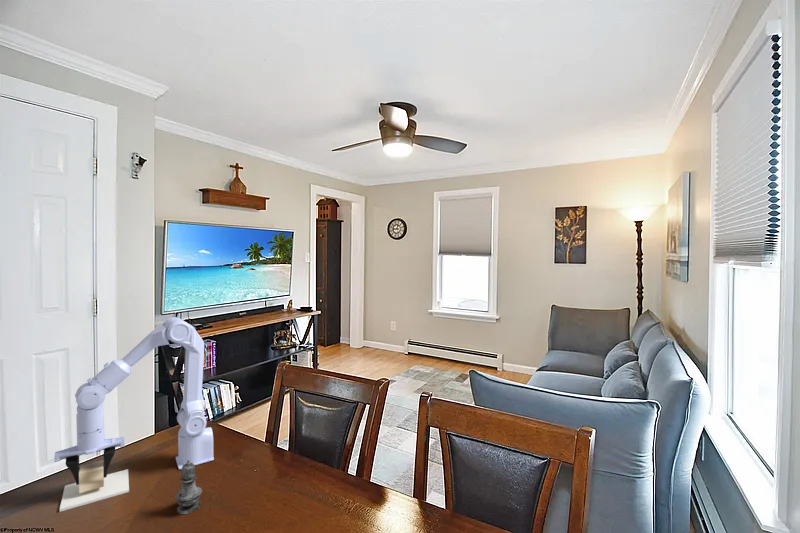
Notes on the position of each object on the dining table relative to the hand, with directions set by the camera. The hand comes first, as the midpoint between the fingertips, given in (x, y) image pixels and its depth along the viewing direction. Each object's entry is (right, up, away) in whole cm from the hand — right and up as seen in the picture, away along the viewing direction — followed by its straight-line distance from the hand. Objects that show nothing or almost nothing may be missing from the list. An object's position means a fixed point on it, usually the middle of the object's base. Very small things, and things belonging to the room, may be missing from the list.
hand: (91, 479), depth 104 cm
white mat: (+1, -3, +1) cm, 3 cm away
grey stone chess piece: (+29, -4, -6) cm, 30 cm away
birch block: (0, -2, 0) cm, 2 cm away
